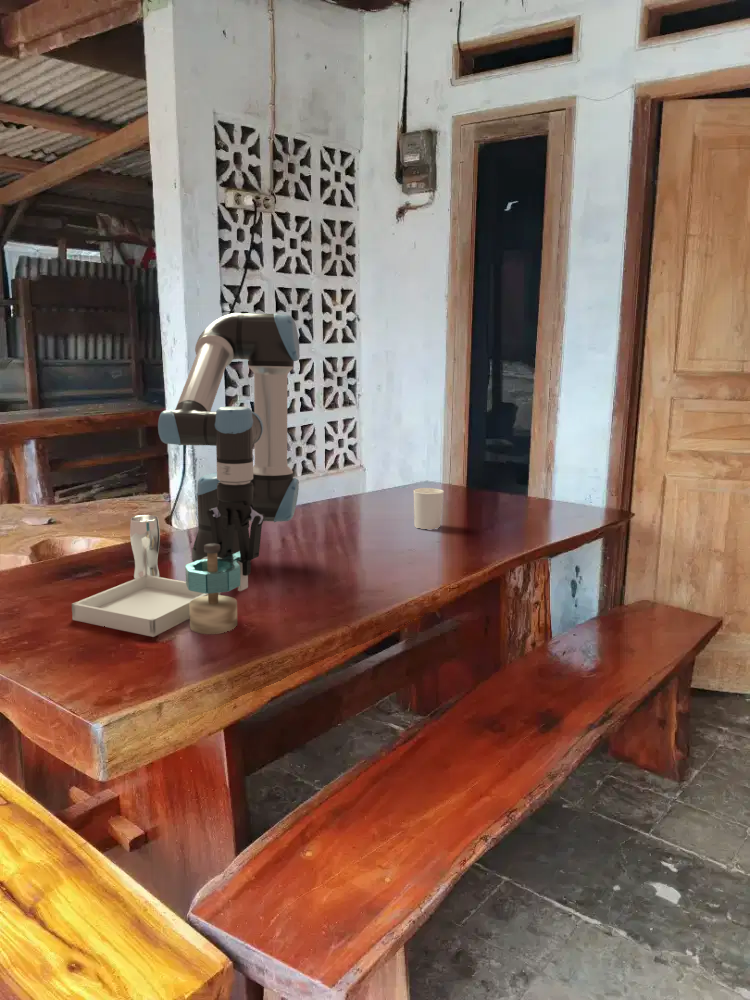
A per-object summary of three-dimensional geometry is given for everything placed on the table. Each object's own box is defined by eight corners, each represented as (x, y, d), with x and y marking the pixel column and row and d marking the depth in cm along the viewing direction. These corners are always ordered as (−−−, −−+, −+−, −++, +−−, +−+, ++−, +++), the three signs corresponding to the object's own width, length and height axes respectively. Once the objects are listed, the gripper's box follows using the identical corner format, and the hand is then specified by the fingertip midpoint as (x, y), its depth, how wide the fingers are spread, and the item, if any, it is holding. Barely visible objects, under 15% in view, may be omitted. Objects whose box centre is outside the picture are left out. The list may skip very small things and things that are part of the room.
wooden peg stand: (208, 614, 166) (206, 537, 162) (246, 621, 162) (245, 542, 158) (180, 629, 157) (177, 548, 154) (219, 637, 153) (218, 554, 150)
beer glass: (167, 575, 192) (165, 517, 189) (146, 582, 186) (143, 522, 183) (147, 571, 195) (145, 513, 192) (125, 578, 189) (123, 518, 186)
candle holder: (441, 531, 243) (442, 494, 240) (410, 529, 244) (411, 492, 242) (443, 524, 252) (445, 488, 250) (413, 522, 254) (415, 487, 251)
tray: (145, 588, 182) (145, 574, 181) (220, 602, 173) (220, 587, 173) (72, 619, 161) (71, 603, 160) (153, 636, 153) (152, 620, 152)
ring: (219, 596, 151) (219, 576, 150) (176, 588, 155) (175, 569, 154) (264, 572, 166) (264, 555, 165) (224, 566, 170) (224, 548, 169)
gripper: (193, 480, 161) (196, 587, 166) (257, 487, 155) (258, 598, 160) (214, 475, 168) (217, 577, 173) (276, 481, 162) (276, 588, 167)
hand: (237, 587), depth 166 cm, fingers closed on ring, 2 cm apart
